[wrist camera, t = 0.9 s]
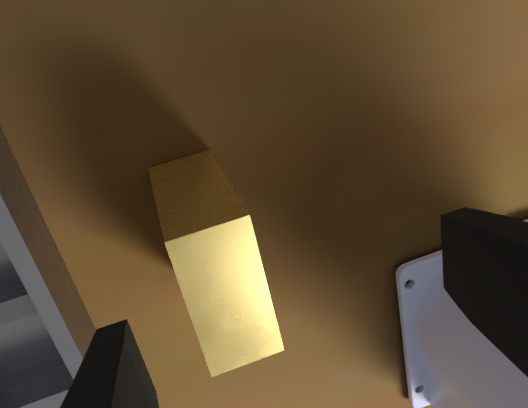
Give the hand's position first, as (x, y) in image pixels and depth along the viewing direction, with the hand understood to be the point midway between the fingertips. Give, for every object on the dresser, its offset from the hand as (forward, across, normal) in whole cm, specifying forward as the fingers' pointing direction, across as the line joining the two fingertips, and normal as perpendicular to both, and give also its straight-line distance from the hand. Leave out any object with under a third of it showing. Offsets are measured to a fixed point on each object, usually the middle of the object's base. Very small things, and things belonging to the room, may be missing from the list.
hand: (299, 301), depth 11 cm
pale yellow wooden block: (+10, +1, +2) cm, 10 cm away
